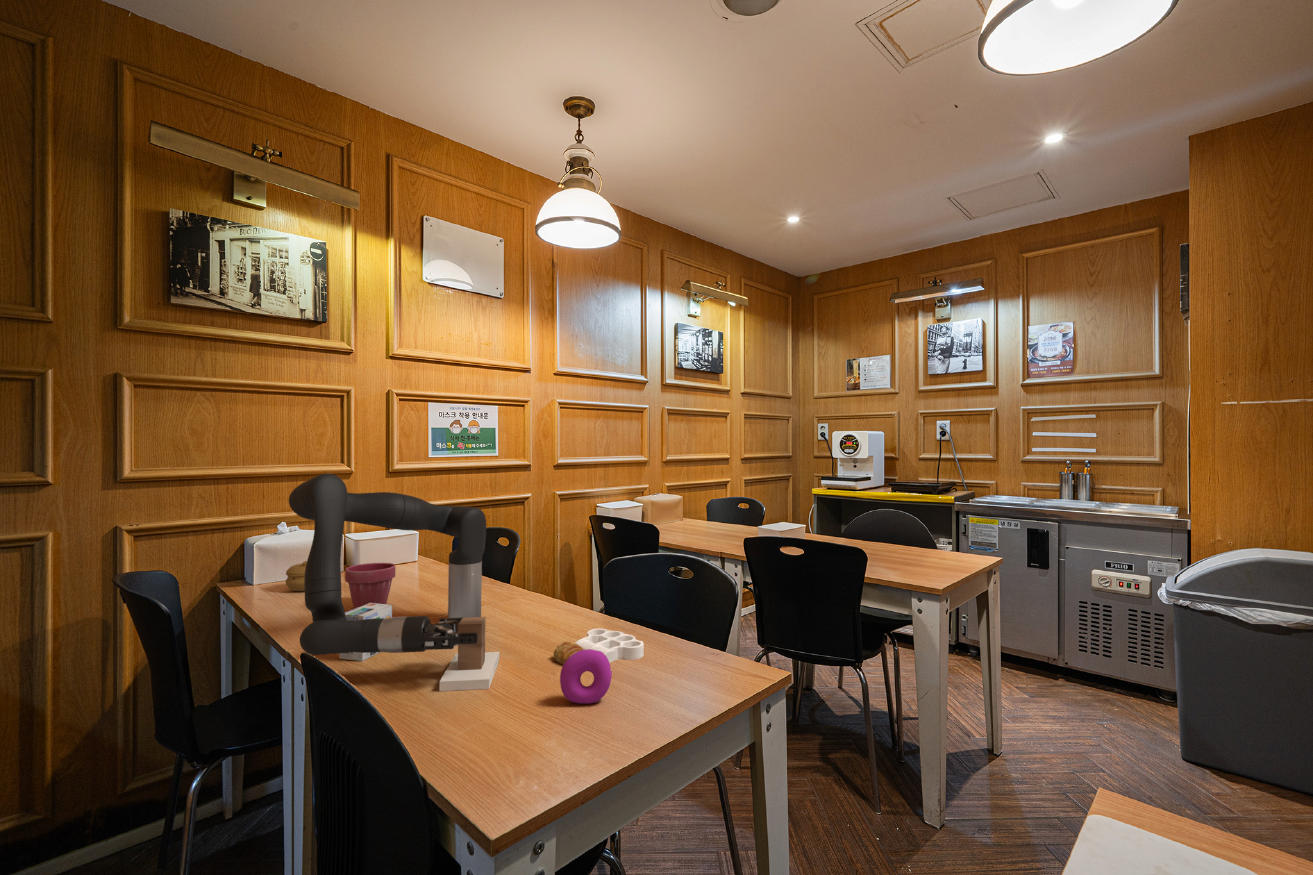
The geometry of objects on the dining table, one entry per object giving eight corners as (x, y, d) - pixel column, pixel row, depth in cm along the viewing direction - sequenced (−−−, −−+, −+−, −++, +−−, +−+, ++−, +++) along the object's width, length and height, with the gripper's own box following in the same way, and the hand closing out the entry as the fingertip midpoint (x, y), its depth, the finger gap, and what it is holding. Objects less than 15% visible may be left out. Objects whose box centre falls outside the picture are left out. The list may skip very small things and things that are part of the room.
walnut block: (462, 661, 128) (462, 617, 128) (484, 660, 128) (485, 616, 129) (457, 670, 123) (458, 624, 123) (481, 669, 123) (481, 623, 124)
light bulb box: (362, 662, 132) (363, 616, 132) (337, 659, 134) (338, 614, 134) (392, 646, 143) (393, 603, 143) (369, 644, 144) (370, 602, 144)
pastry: (595, 664, 132) (595, 648, 132) (570, 672, 128) (570, 655, 128) (574, 653, 139) (574, 638, 140) (550, 660, 135) (550, 644, 135)
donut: (591, 714, 107) (591, 661, 108) (554, 702, 112) (555, 652, 112) (615, 698, 114) (616, 649, 114) (580, 688, 119) (580, 640, 119)
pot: (276, 593, 193) (277, 563, 193) (303, 585, 204) (304, 557, 204) (306, 595, 191) (307, 565, 191) (332, 586, 202) (332, 558, 202)
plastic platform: (455, 662, 133) (455, 653, 133) (499, 660, 134) (499, 651, 134) (439, 691, 117) (439, 681, 117) (489, 688, 118) (489, 679, 118)
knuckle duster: (564, 650, 142) (607, 637, 153) (613, 670, 130) (655, 653, 141) (564, 637, 142) (607, 624, 153) (613, 655, 130) (656, 640, 141)
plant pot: (364, 600, 185) (365, 561, 185) (404, 602, 183) (404, 562, 183) (333, 612, 171) (334, 570, 171) (376, 615, 169) (377, 572, 169)
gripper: (394, 627, 117) (475, 624, 119) (414, 607, 131) (486, 605, 133) (394, 663, 116) (475, 660, 119) (413, 640, 131) (485, 637, 133)
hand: (480, 631), depth 126 cm, fingers open, 8 cm apart
